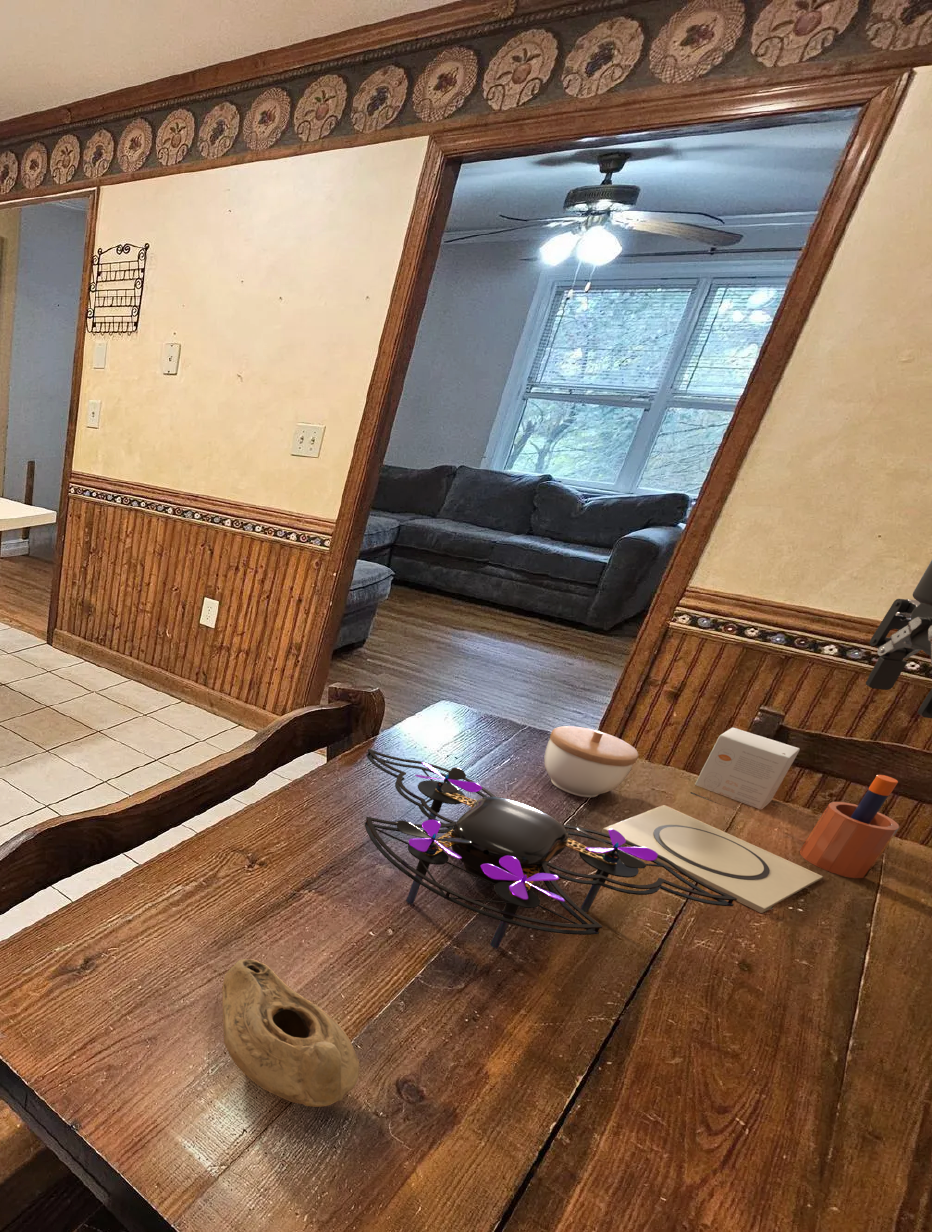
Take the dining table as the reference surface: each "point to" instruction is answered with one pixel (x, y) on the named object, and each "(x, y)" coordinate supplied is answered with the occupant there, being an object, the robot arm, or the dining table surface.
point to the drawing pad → (716, 857)
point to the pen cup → (847, 841)
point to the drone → (513, 852)
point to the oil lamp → (285, 1038)
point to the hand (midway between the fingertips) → (902, 701)
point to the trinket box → (587, 760)
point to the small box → (746, 767)
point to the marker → (874, 798)
